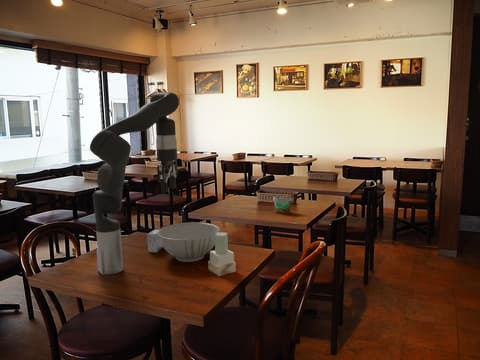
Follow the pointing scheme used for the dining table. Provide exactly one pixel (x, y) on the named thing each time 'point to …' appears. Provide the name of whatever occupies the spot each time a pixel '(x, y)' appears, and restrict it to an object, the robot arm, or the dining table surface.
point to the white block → (222, 258)
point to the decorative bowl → (188, 240)
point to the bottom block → (222, 268)
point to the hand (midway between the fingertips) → (168, 190)
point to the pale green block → (221, 243)
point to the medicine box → (153, 241)
